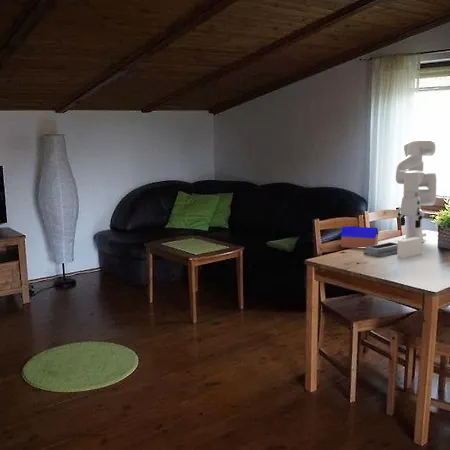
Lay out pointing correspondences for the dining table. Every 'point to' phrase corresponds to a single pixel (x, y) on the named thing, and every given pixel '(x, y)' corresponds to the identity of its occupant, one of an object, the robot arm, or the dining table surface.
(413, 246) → the white block
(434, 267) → the dining table surface
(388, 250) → the grey holder tray
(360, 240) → the blue shipping container
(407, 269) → the dining table surface
